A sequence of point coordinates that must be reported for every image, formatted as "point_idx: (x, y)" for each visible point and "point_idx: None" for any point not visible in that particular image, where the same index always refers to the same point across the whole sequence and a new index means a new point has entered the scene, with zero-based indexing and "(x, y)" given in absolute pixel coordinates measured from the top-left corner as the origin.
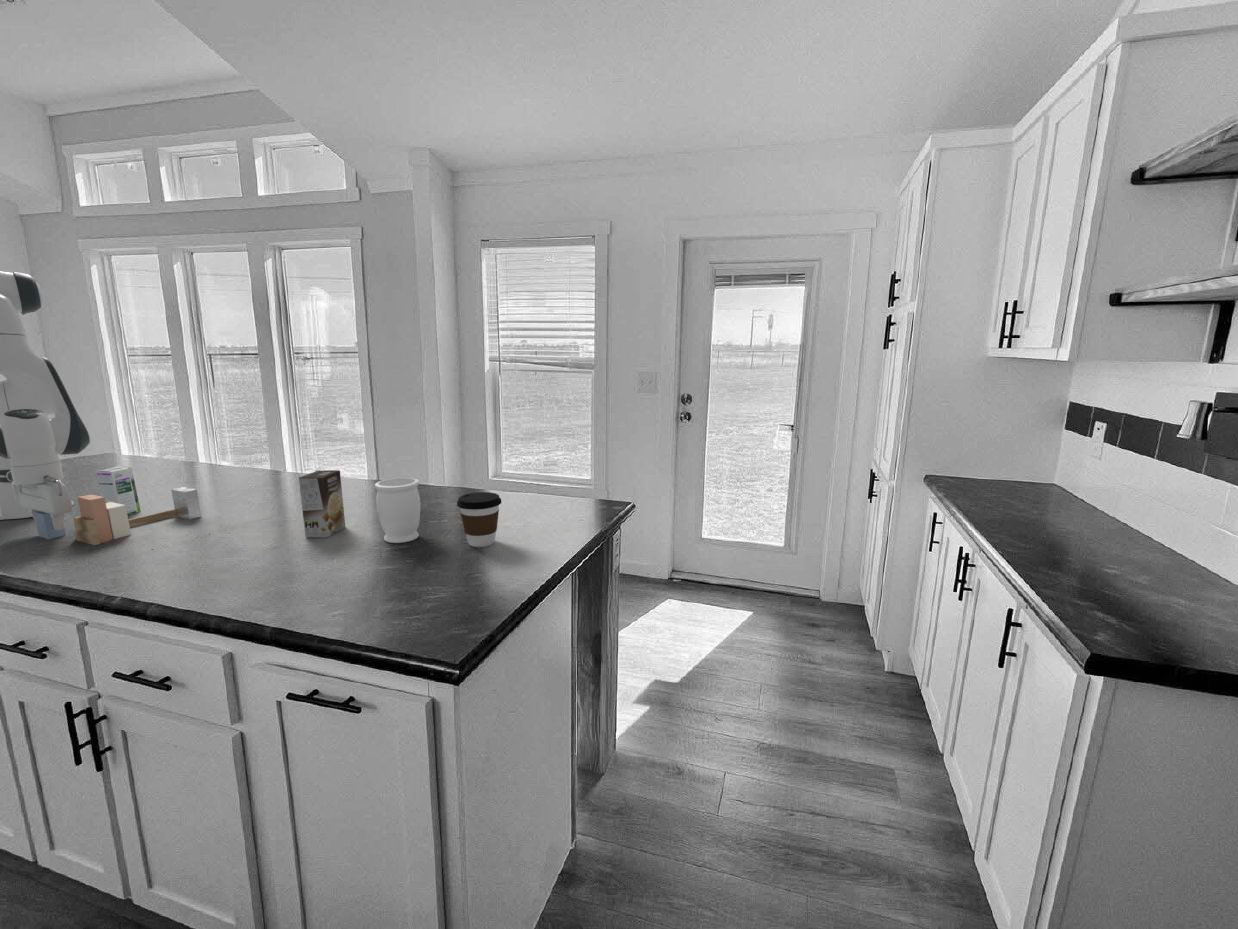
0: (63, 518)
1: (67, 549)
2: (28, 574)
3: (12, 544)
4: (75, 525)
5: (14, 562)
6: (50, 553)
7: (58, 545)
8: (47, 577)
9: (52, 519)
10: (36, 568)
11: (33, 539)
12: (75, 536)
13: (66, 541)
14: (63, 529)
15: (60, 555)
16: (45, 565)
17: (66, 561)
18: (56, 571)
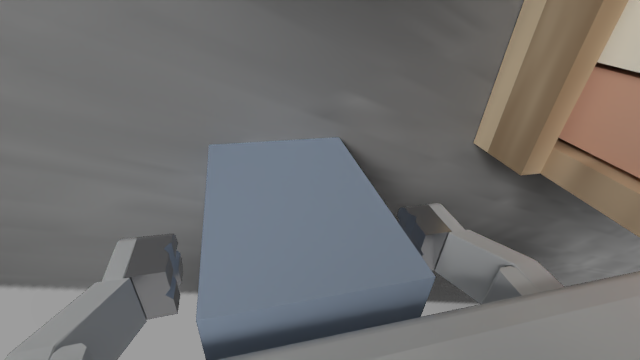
0: (505, 247)
1: (503, 187)
2: (569, 285)
3: (190, 288)
4: (593, 200)
5: (450, 296)
6: (480, 230)
7: (414, 191)
8: (627, 266)
9: (478, 297)
10: (555, 271)
11: (171, 228)
12: (504, 161)
13: (388, 153)
14: (359, 173)
15: (534, 217)
16: (561, 256)
17: (596, 221)
18: (622, 250)
